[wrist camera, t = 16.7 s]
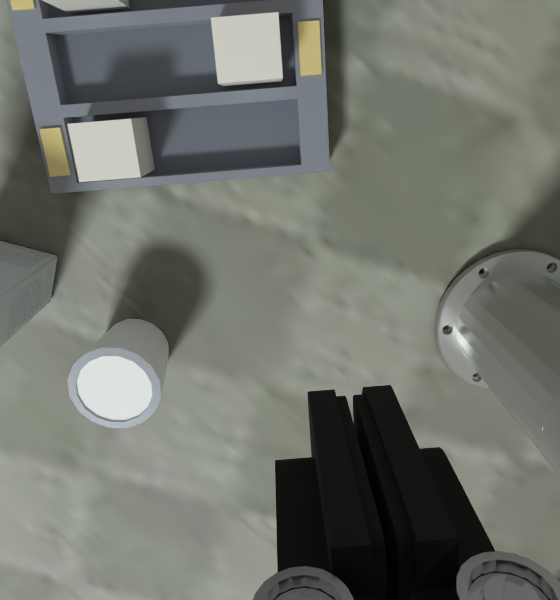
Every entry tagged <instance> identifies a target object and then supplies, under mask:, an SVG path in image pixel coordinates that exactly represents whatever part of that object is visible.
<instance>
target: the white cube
mask: <svg viewBox="0 0 560 600" xmlns="http://www.w3.org/2000/svg"><path fill="white" fill-rule="evenodd" d="M42 1H44V2H47V3H49V4H51V5H53V6H55V7H57V8H59V9H61V10H64V11H66V12H68V13H78V12H90V11H102V10H114V9H126V8H130V7H129V1H128V0H42Z"/></svg>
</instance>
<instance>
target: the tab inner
mask: <svg viewBox="0 0 560 600" xmlns="http://www.w3.org/2000/svg"><path fill="white" fill-rule="evenodd" d="M67 125H68V130H69V135H70V140H71V144H72V149H73V154H74V159H75V164H76V168H77V173H78V178H79V182H89V181H101V180H114V179H126V178H138V177H142V176H144V175H146V174H147V173H149V172H151V171H153V170H155V168H154V161H153V155H152V149H151V142H150V136H149V129H148V123H147V117H143V118H131V119H119V120H106V121H94V122H83V123H71V124H67Z"/></svg>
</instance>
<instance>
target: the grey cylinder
mask: <svg viewBox="0 0 560 600" xmlns="http://www.w3.org/2000/svg"><path fill="white" fill-rule="evenodd" d="M168 357H169V346H168V341H167V340H166V338H165V336H164V334H163V332H162V331H161V330H160V329H158V328H157V327H156V326H155V325H154V324H152V323H150V322H147V321H144V320H142V319H126V320H123V321H121V322H118V323H116V324H115V325H114V326H113V327H112V328H111V329H110V330H108V331H107V332H106V333H105V334H104V335H103V336H102V337H101V338H100V339H99V340H98V341H97V342H96V343H95V344H94V345H93V346H92V347H91V348H90V349H89V350H88V351H87V352H86V353H85V354H84V355H83V356H82V357H81V358H80V359H79V360H78V361H77V362H76V363H75V364H74V365H73V366H72V369H71V372H70V375H69V378H68V388H69V395H70V398H71V400H72V401H73V403H74V404H75V406H76V408H77V409H78V411H79V412H80V413H82V414H83V415H84V416H86V417H87V418H88V419H90V420H91V421H92V422H94V423H97V424H100V425H103V426H106V427H109V428H129V427H131V426H134V425H137V424H140V423H142V422H144V421H145V420H146V419H147V418H149V417H150V416H151V415H152V414H153V413H154V412H155V411H156V408H157V406H158V403H159V401H160V398H161V395H162V389H163V384H164V379H165V373H166V368H167V363H168Z"/></svg>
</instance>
